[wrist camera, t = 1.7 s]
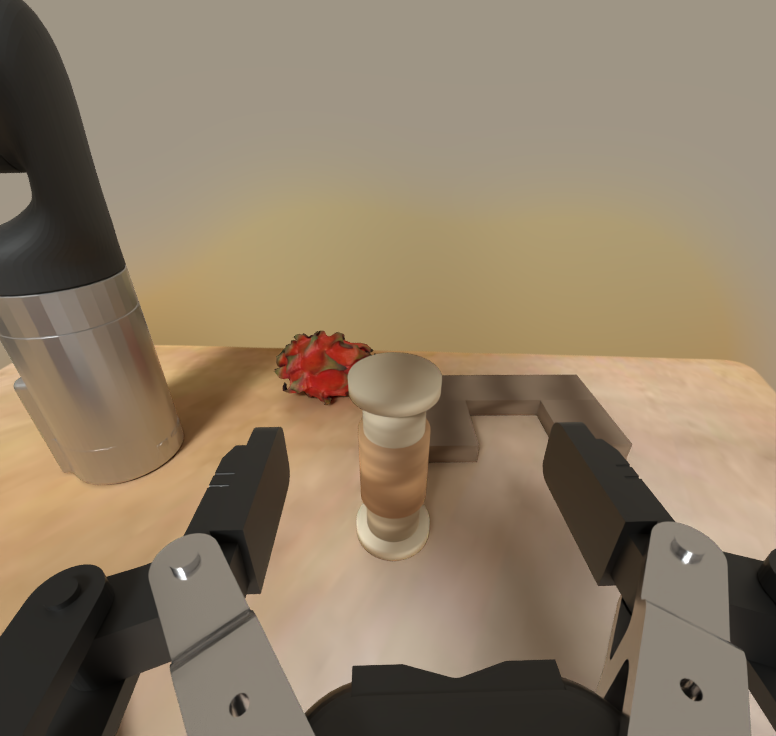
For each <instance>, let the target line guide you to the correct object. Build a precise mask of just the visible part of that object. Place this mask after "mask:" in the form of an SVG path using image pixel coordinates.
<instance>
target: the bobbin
mask: <svg viewBox="0 0 776 736" xmlns="http://www.w3.org/2000/svg"><path fill="white" fill-rule="evenodd" d="M441 385H442V374H441V371H440V370H439V368H438V367H437V366H436V365H435V364H434V363H432V362H431V361H429V360H427V359H425V358H423V357H420V356H417V355H413V354H408V353H397V352H391V353H381V354H375V355H372V356H368V357H366V358H364V359H362V360H360V361H358V362H357V363H355V364H354V365H353V366H352V367H351V369H350V370H349V373H348V391H349V396H350V398H351V400H352V401H353V403H354V404H355V405H356V406H358V407H359V408H360V409H362V410H363V417H362V419H361V420H360V422H359V424H358V441H359V462H360V482H361V497H362V501H363V504H362V505H361V507H360V509H359V511H358V514H357V519H356V520H357V535H358V538H359V541H360V543H361V545H362V546H363V547H364V549H365V550H366V551H367V552H369V553H370V554H371V555H373V556H375V557H377V558H379V559H383V560H388V561H399V560H404V559H407V558H410V557H412V556H414V555H415V554H417V553H418V552H419V551H420V550H421V549H422V548H423V547H424V545H425V544H426V541H427V539H428V535H429V525H430V518H429V514H428V511H427V509H426V507H425V506H424V504H423V503H424V501H425V497H426V485H427V472H428V458H429V444H430V431H431V429H430V424H429V422H428V420H427V419H426V411H427V410H428V409H430V408H431V407H433V406H434V405H435V404H436V403H437V402H438V400H439V398H440V395H441Z"/></svg>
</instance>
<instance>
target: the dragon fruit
mask: <svg viewBox="0 0 776 736" xmlns="http://www.w3.org/2000/svg"><path fill="white" fill-rule="evenodd" d="M294 338H295V339H296V340H297V341H296V340H292V341H291V344H288V345H286V347H285V349H283V351H282V352H281V353H280V354H279V355H278V356H276V358H277V365H278V367H280V368H277V369H275V373H276V374H277V375H278V377H279V378H281V379H286V378H288V379H289V380H290V387H289V388H288V389H287V386H286V385H287V384H285V383H284V385H283V391H285V392H288V393H300V392H302V391H304V392H305V394H306V395H307V396H308V397H312V396H314V397H316V398H318V399H319V400H320V401H322V402H325V404H324V405H328V404H330V403H331V402H330V401H331V399H332V398H328V397H329V396H337V395H342V396H346V395H348V396H349V391H348V373H349V370H350V369H351V367H352V366H353V365H354V364H355V363H357V362H358V361H360V360H362V359H364V358H366V357H368V356H372V355H371V354H370V352H372V349H371V348H370V347H369V346H368V345H367V344H363V343H350V342H348V341H345V338H344V334H342V333H338V332H336V333H335V334H333V335H332V336H327V335H326V334H325V332H324V331H319V332H318V331H317V332H316V333H315V334H314V335H311V336H309V337H308V336H307V335H306V334H303V335H301V334H298V335H295V336H294ZM374 355H375V354H374Z"/></svg>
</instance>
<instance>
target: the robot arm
mask: <svg viewBox="0 0 776 736" xmlns="http://www.w3.org/2000/svg"><path fill="white" fill-rule="evenodd" d="M25 172H26V173H27V175H28V177H29V182H30V186H31V191H32V200H31V202H30V204H29V205H28V206H27V208H26V209H25V210H24V211H22V212H21V213H20V214H19V215H18V216H16V217H15V218H13V219H12V220H10V221H8V222H6V223H4V224H2V225H0V341H1V343H2V344H3V346H4V348H5V350H6V351H7V353H8V355H9V357H10V359H11V360H12V362H13V364H14V366H15V367H16V369H17V371H18V373H19V374H20V376H21V377H20V378H19V379H17V380H16V381H15V383H14V389H15V391H16V393H17V395H18V396H19V398H20V400H21V401H22V403H23V405H24V406H25V408H26V410H27V412H28V413H29V415H30V417H31V418H32V420H33V422H34V423H35V425H36V427H37V429H38V430H39V432H40V434H41V435H42V437H43V439H44V440H45V442H46V444H47V446H48V447H49V449H50V451H51V452H52V454H53V456H54V458H55V459H56V461H57V463H58V464H59V466H60V468H61V469H62V471H63V472H64V473H68V472H70V473H74V474H75V475H76V476H77V477H78V478H79V479H80V480H82V481H84V482H86V483H90V484H95V485H109V484H116V483H122V482H125V481H129V480H133V479H135V478H138V477H140V476H143V475H145V474H147V473H149V472H151V471H153V470H155V469H157V468H158V467H160V466H161V465H163V464H164V463H166V462H167V461H168V460H169V459H170V458H171V457H172V456H173V455H174V454H175V453H176V452H177V451H178V449H179V448H180V446H181V444H182V442H183V438H184V433H183V429H182V426H181V423H180V419H179V417H178V415H177V412H176V409H175V406H174V403H173V400H172V397H171V394H170V391H169V388H168V385H167V382H166V379H165V376H164V373H163V371H162V368H161V365H160V362H159V359H158V356H157V353H156V350H155V347H154V344H153V342H152V339H151V336H150V333H149V330H148V327H147V324H146V321H145V318H144V316H143V313H142V310H141V307H140V304H139V301H138V298H137V295H136V293H135V290H134V287H133V284H132V281H131V278H130V275H129V272H128V269H127V266H126V264H125V261H124V258H123V255H122V252H121V249H120V246H119V243H118V240H117V237H116V234H115V230H114V227H113V223H112V220H111V217H110V214H109V211H108V208H107V205H106V202H105V199H104V196H103V193H102V190H101V186H100V183H99V180H98V176H97V173H96V169H95V166H94V163H93V159H92V156H91V152H90V149H89V145H88V141H87V138H86V134H85V130H84V127H83V123H82V119H81V116H80V112H79V109H78V105H77V102H76V99H75V96H74V93H73V89H72V86H71V83H70V80H69V77H68V74H67V72H66V69H65V67H64V64H63V62H62V59H61V57H60V54H59V52H58V50H57V48H56V46H55V44H54V42H53V40H52V38H51V36H50V34H49V33H48V31H47V29H46V28H45V26H44V25H43V23H42V22H41V21H40V19H39V18H38V16H37V15H36V14H35V12H34V11H33V10H32V9H31V8H30V7H29V6H28V5H27V4H26V3H25V2H24V1H23V0H0V173H25ZM629 465H630V464H629V463H628V462H627V461H626V459H625V458H624V457H623V456H622V454H621V453H620V452H619V451H618V450H617V449H616V448H614V447H613V446H611V445H610V444H608V443H607V442H606V441H604V440H603V439H596V438H595V437H594V435H593V434H592V433H591V431H590V430H589V429H588V428H587V426H586V425H585V424H584V423H583V422H556V423H554V424H553V426H552V428H551V432H550V436H549V440H548V444H547V448H546V452H545V456H544V460H543V474H544V478H545V481H546V484H547V486H548V488H549V490H550V492H551V494H552V496H553V498H554V500H555V502H556V504H557V506H558V507H559V509H560V511H561V513H562V515H563V517H564V519H565V521H566V523H567V525H568V527H569V529H570V531H571V533H572V535H573V537H574V539H575V541H576V543H577V545H578V547H579V549H580V551H581V553H582V555H583V557H584V559H585V561H586V563H587V565H588V567H589V569H590V571H591V573H592V575H593V577H594V579H595V581H596V583H597V585H598V586H613V585H616V586H617V588H618V590H619V592H620V594H621V595H620V597H619V600H618V602H617V607H616V612H615V616H614V621H613V626H612V631H611V635H610V640H609V645H608V650H607V654H606V659H605V664H604V668H603V672H602V675H601V678H600V681H599V684H598V686H597V689H596V692H593V691H591V690H590V689H588V688H586V687H584V686H582V685H580V684H578V683H576V682H573V681H571V680H568V679H566V678H562V677H561V675H560V672H559V669H558V667H557V664H556V661H555V660H524V661H505V662H502V663H499V664H496V665H494V666H491V667H488V668H485V669H483V670H480V671H477V672H475V673H472V674H469V675H466V676H464V677H460V678H451V677H447V676H444V675H440V674H436V673H433V672H429V671H425V670H422V669H418V668H414V667H411V666H407V665H403V664H397V665H366V666H353V667H352V682H351V683H348V684H346V685H343V686H341V687H339V688H337V689H335V690H333V691H331V692H330V693H328V694H327V695H325V696H324V697H323V698H321V699H320V700H318V701H317V702H316V703H315V704H314V705H313V706H312V707H311V708H309V709H308V710H307V711H306V712H305V714H304V712H303V710H302V708H301V706H300V704H299V702H298V700H297V698H296V696H295V694H294V692H293V689H292V687H291V685H290V683H289V681H288V679H287V677H286V675H285V673H284V671H283V669H282V667H281V665H280V663H279V661H278V659H277V657H276V655H275V653H274V651H273V649H272V647H271V645H270V643H269V641H268V638H267V636H266V634H265V632H264V630H263V628H262V626H261V624H260V622H259V620H258V618H257V616H256V615H255V613H254V611H253V610H250V608H249V606H248V604H247V602H246V600H245V598H246V595H247V594H261V590H262V587H263V583H264V579H265V575H266V571H267V567H268V564H269V560H270V556H271V552H272V548H273V544H274V540H275V537H276V533H277V529H278V525H279V521H280V517H281V514H282V510H283V506H284V502H285V498H286V494H287V491H288V486H289V478H290V469H289V462H288V456H287V450H286V444H285V438H284V433H283V429H282V428H281V427H258V428H254V430H253V432H252V434H251V436H250V438H249V441H248V443H247V445H238V446H235V447H234V448H233V449H232V450H231V451H230V452H228V453H227V454H226V455H225V456H224V457H223V458H222V460H221V462H220V464H219V466H218V468H217V470H216V472H215V475H214V476H213V478H212V480H211V482H210V484H209V488H207V490H206V492H205V494H204V496H203V498H202V500H201V502H200V504H199V506H198V508H197V510H196V512H195V514H194V516H193V518H192V520H191V522H190V524H189V526H188V528H187V530H186V532H185V534H184V536H183V537H180V538H178V539H176V540H174V541H173V542H171V543H170V544H168V545H167V546H165V547H164V548H163V549H162V550H161V551H160V552H159V553H158V554H157V556H156V557H155V558H154V560H153V562H152V563H149V564H147V565H144V566H141V567H138V568H134V569H131V570H128V571H125V572H121V573H118V574H115V575H111V576H108V577H106V576H105V574H104V572H103V571H102V569H100V568H99V567H97V566H95V565H78V566H74V567H71V568H68V569H66V570H63V571H61V572H59V573H57V574H56V575H54V576H52V577H51V578H49V579H48V580H46V581H45V582H44V583H42V584H41V585H40V586H39V587H38V588H37V589H36V590H35V591H34V592H33V593H32V594H31V595H30V596H29V597H28V599H27V600H26V601H25V603H24V604H23V606H22V607H21V608H20V610H19V611H18V613H17V614H16V615H15V617H14V618H13V620H12V621H11V622H10V624H9V625H8V627H7V628H6V629H5V631H4V632H3V634H2V635H1V636H0V736H115V735H116V733H117V730H118V728H119V725H120V723H121V720H122V718H123V715H124V713H125V710H126V708H127V705H128V703H129V700H130V698H131V695H132V693H133V690H134V688H135V685H136V683H137V680H138V678H139V675H140V673H142V672H144V671H147V670H150V669H152V668H155V667H158V666H160V665H163V664H166V663H168V662H171V661H172V664H170V672H171V677H172V681H173V685H174V689H175V692H176V696H177V700H178V703H179V707H180V711H181V714H182V718H183V722H184V725H185V729H186V733H187V736H751V723H750V707H749V691H748V689H749V690H750V692H751V694H752V695H753V697H754V698H755V700H756V701H757V703H758V705H759V706H760V708H761V709H762V711H763V712H764V714H765V716H766V717H767V719H768V720H769V722H770V723H771V725H772V727H773V728H774V730H775V731H776V549H774V550H773V551H771V553H770V554H769V555H768V557H767V558H766V559H765V561H760V560H756V559H752V558H748V557H743V556H739V555H735V554H731V553H727V552H723V551H722V550H721V549H720V548H719V547H718V545H717V544H716V543H715V542H714V541H712V540H711V539H710V538H709V537H708V536H706V535H705V534H703V533H702V532H700V531H698V530H696V529H694V528H692V527H690V526H687V525H685V524H681V523H677V522H675V521H674V520H673V518H672V517H671V516H670V515H669V513H668V512H667V511H666V510H665V508H664V507H663V506H662V504H661V503H660V502H659V501H658V499H657V498H656V497H655V496H654V494H653V493H652V492H651V491H650V489H649V488H648V487H647V486H646V484H645V483H644V482H643V481H642V479H639V476H638V474H637V473H636V472H635V471H634V469H633V468H632V467H630V466H629Z"/></svg>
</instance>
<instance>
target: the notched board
mask: <svg viewBox="0 0 776 736" xmlns="http://www.w3.org/2000/svg"><path fill="white" fill-rule="evenodd" d="M470 415H537V416H538V418H539V420H540V422H541V424H542V426H543V427H544V429H545V431H546V433H547V435H548V437H549V436H550V432H551V428H552V426H553V424H554V423H556V422H583V423H584V424H585V425H586V426H587V428H588V429H589V430H590V431H591V433H592V434H593V435H594V437H595V438H596V439H603V440H604V441H606V442H607V443H608V444H610V445H611V446H613V447H614V448H616V449H617V450H618V451H619V452H620V453H621V454H622V456H623V457H624V458H625V459H626V458H627V456H628V453H629V451H630V449H631V446H632V443H631V442H630V441H629V440H628V438H627V437H626V436H625V435H624V433H623V432H622V431H621V430H620V428H619V427H618V426H617V425H616V423H615V422H614V421H613V420H612V418H611V417H610V416H609V415H608V413H607V412H606V411H605V410H604V408H603V407H602V406H601V405H600V403H599V402H598V401H597V400H596V398H595V397H594V396H593V395H592V393H591V392H590V391H589V390H588V388H587V387H586V386H585V385H584V383H583V382H582V381H581V380H580V378H579V377H578V376H577V375H448V376H442V385H441V395H440V398H439V400H438V402H437V403H436V404H435V405H434V406H433V407H431V408H430V409H428V410H427V411H426V419H427V420H428V422H429V424H430V429H431V431H430V444H429V458H428V462H477V457H478V451H479V443H478V440H477V436H476V433H475V430H474V427H473V424H472V420H471V417H470Z"/></svg>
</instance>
